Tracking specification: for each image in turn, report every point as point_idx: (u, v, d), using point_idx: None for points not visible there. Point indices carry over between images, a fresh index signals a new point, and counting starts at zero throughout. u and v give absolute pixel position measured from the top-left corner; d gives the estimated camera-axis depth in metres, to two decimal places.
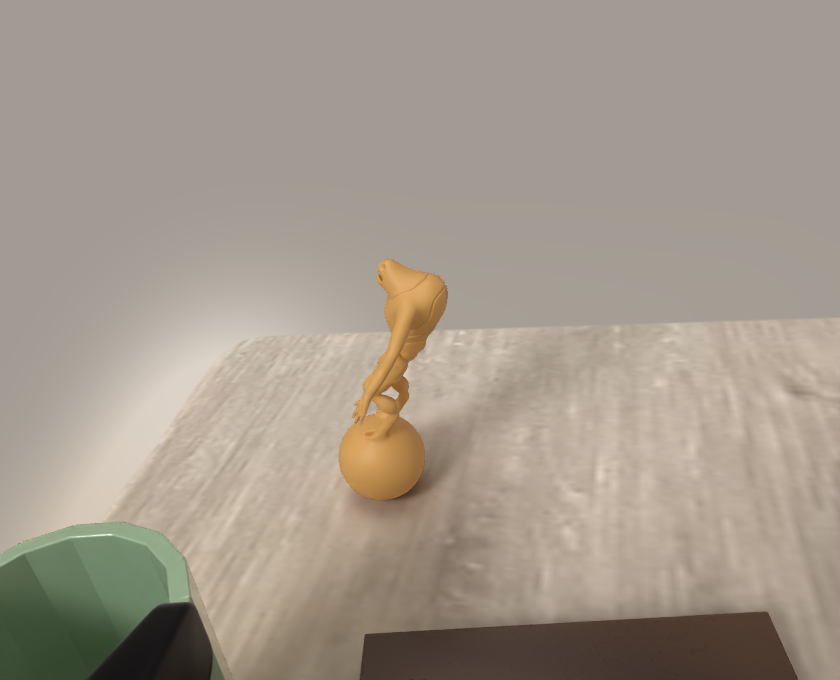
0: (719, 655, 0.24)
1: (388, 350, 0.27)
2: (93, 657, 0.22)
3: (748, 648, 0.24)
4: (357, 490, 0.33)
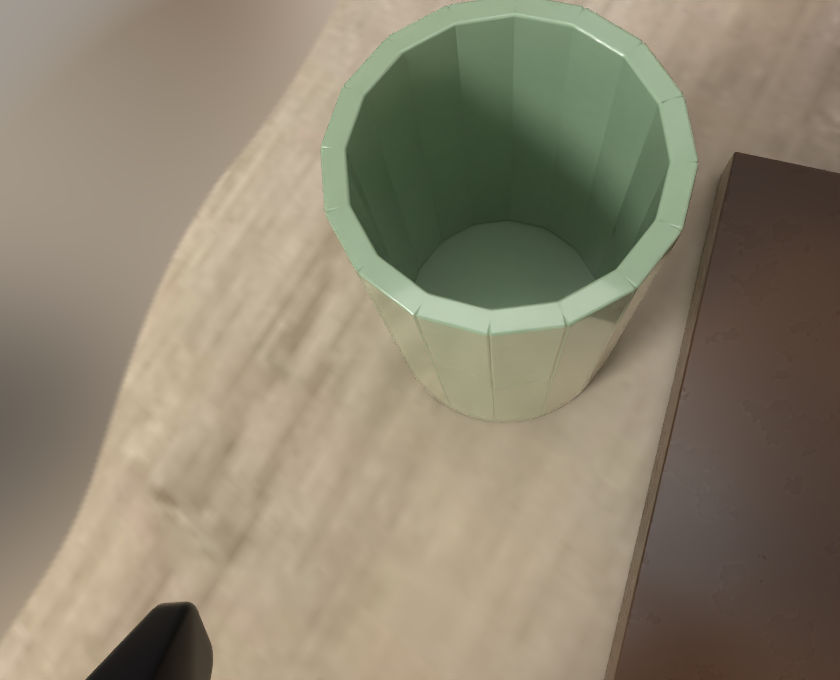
0: None
1: None
2: (478, 138, 0.19)
3: None
4: None
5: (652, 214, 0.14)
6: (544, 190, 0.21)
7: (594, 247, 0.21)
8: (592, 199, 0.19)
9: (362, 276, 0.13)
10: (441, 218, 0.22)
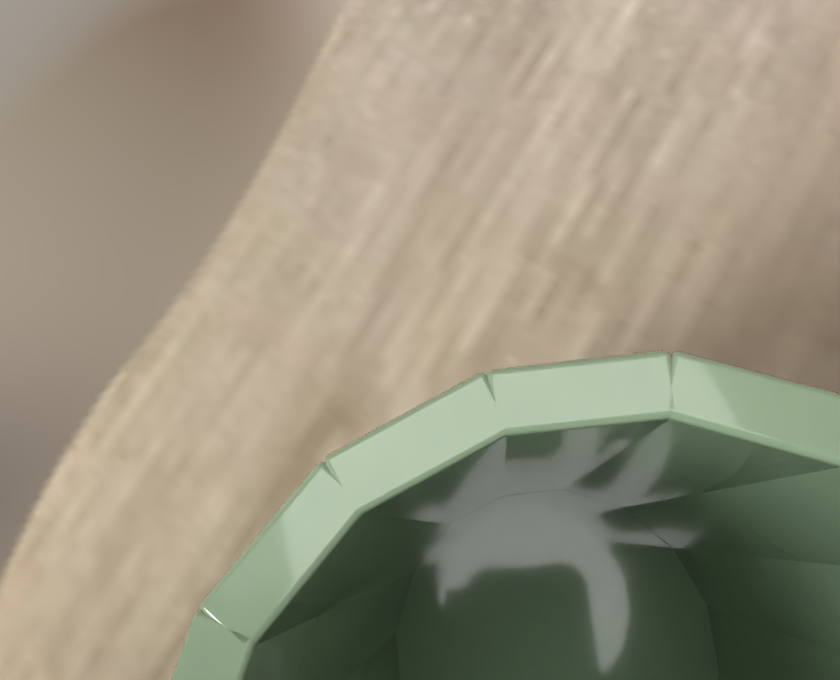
0: None
1: None
2: (528, 474, 0.09)
3: None
4: None
5: None
6: (635, 499, 0.12)
7: (720, 592, 0.12)
8: (740, 565, 0.10)
9: None
10: (452, 519, 0.13)
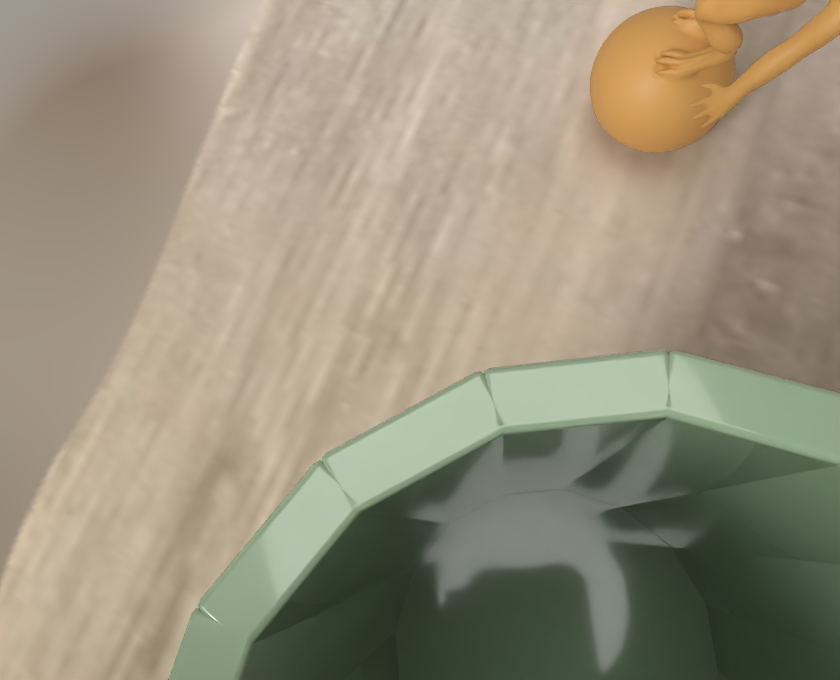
0: None
1: (831, 13, 0.13)
2: (526, 474, 0.10)
3: None
4: (613, 136, 0.22)
5: None
6: (633, 499, 0.12)
7: (719, 591, 0.12)
8: (738, 564, 0.10)
9: None
10: (451, 519, 0.13)
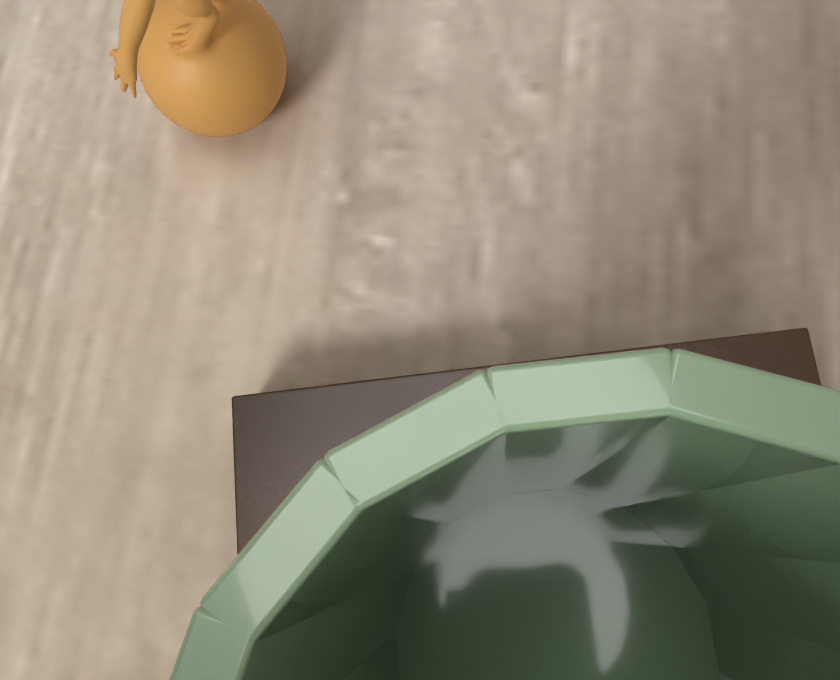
0: None
1: None
2: (527, 473, 0.09)
3: None
4: (185, 128, 0.21)
5: None
6: (635, 498, 0.12)
7: (720, 591, 0.12)
8: (740, 563, 0.10)
9: None
10: (452, 518, 0.13)
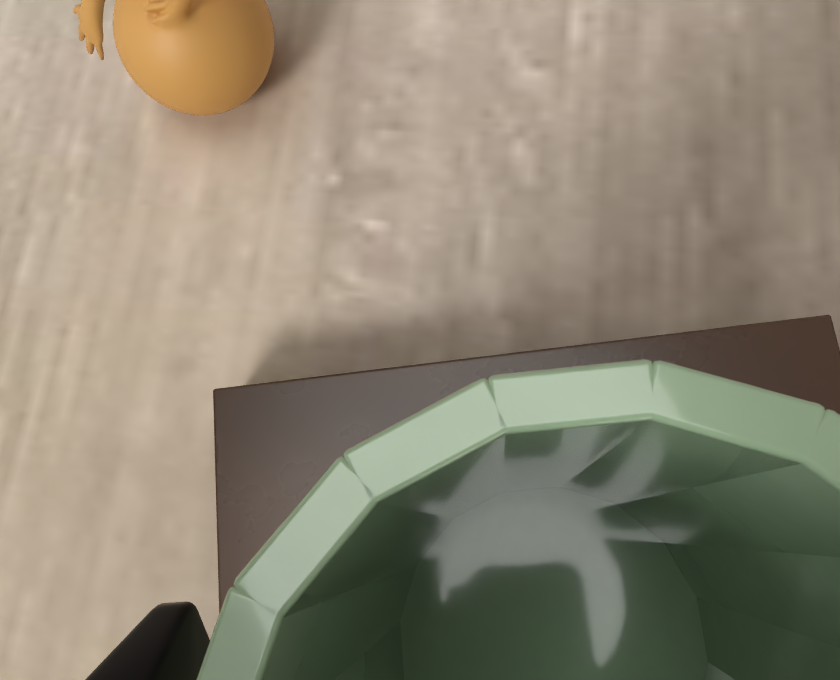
0: None
1: None
2: (526, 471, 0.10)
3: (793, 384, 0.16)
4: (166, 106, 0.20)
5: None
6: (627, 496, 0.13)
7: (708, 584, 0.13)
8: (724, 557, 0.11)
9: None
10: (454, 514, 0.14)
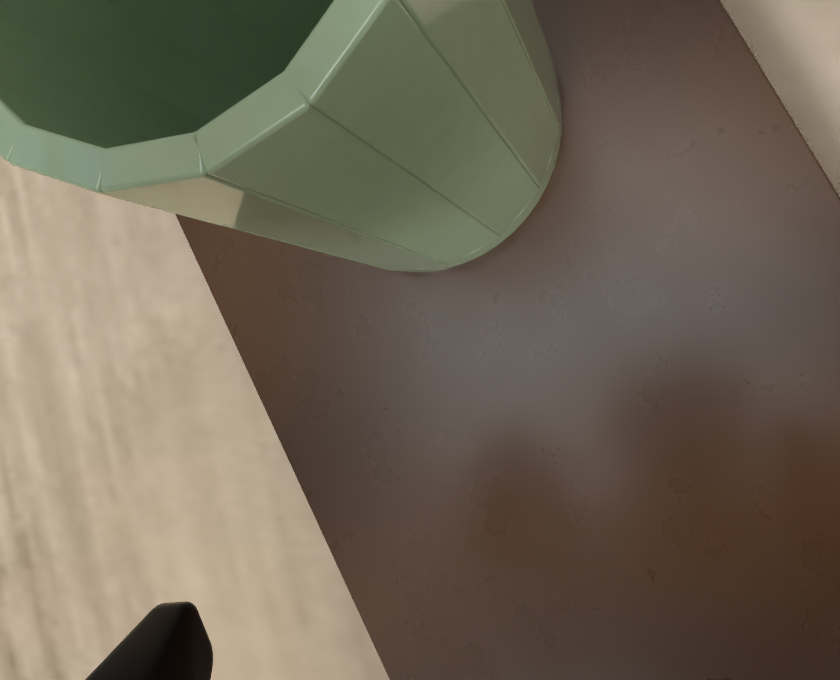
0: None
1: None
2: None
3: None
4: None
5: None
6: None
7: None
8: None
9: (16, 165, 0.09)
10: (279, 41, 0.16)
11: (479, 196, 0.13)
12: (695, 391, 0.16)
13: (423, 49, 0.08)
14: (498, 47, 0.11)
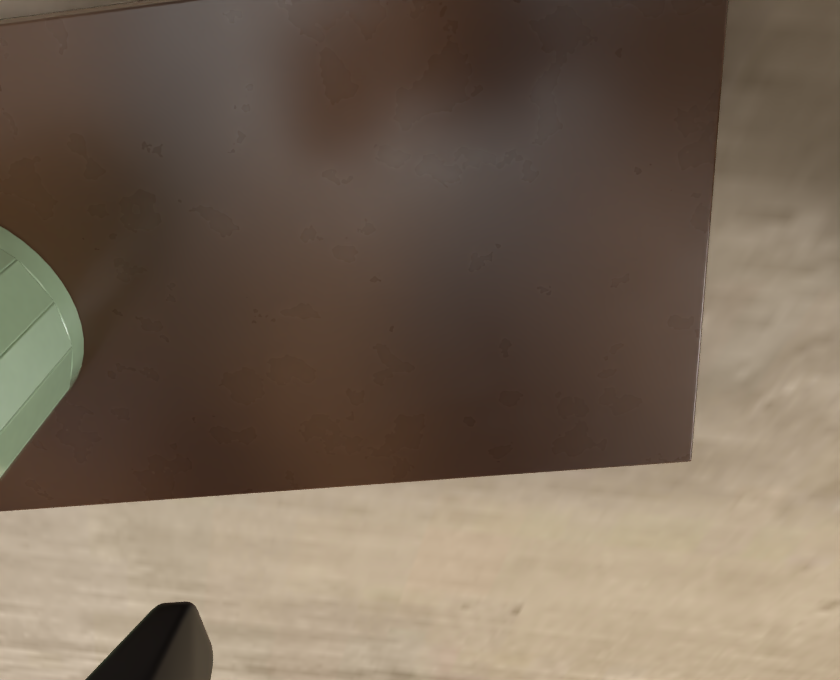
0: None
1: None
2: None
3: None
4: None
5: None
6: None
7: None
8: None
9: None
10: None
11: None
12: (230, 193, 0.18)
13: None
14: None
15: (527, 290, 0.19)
